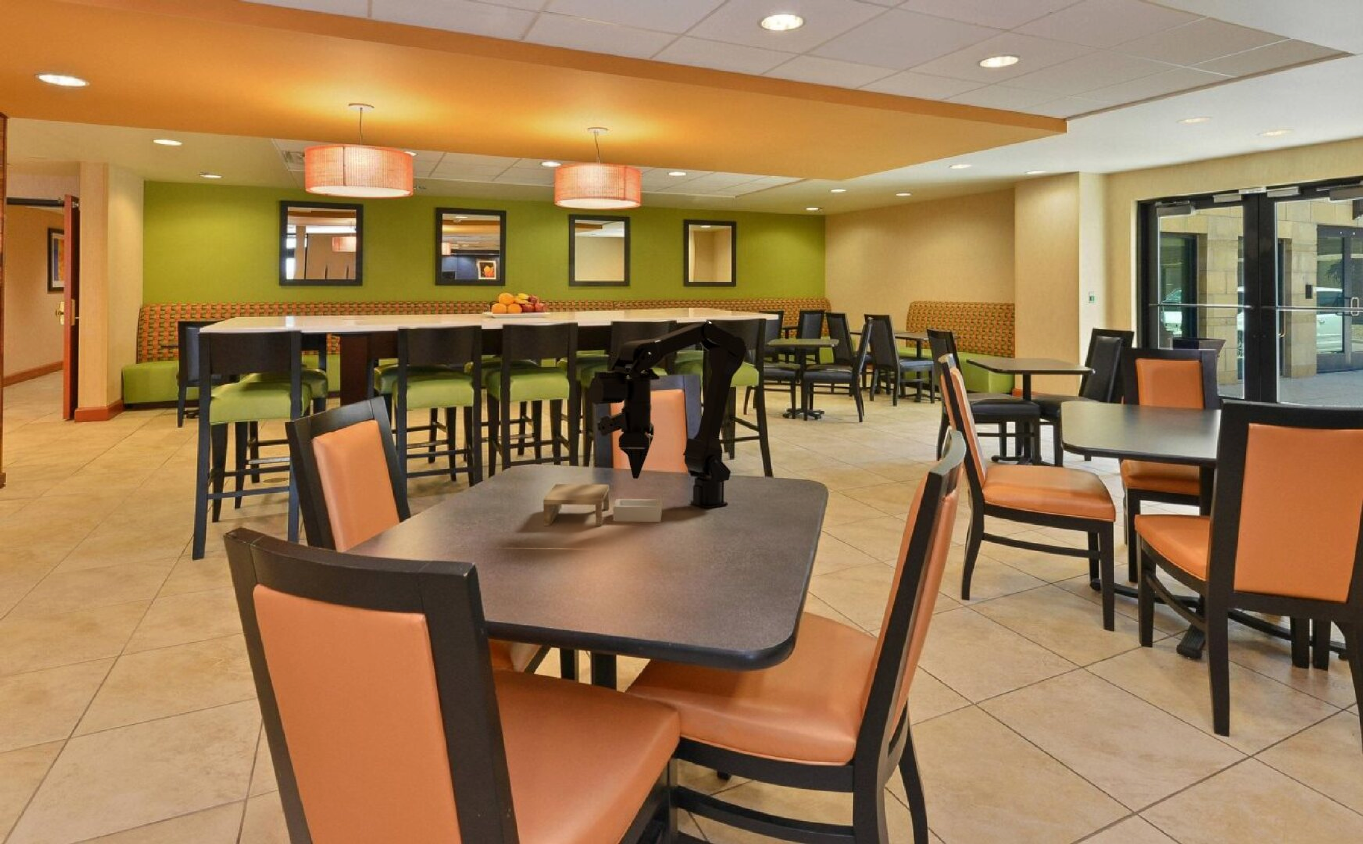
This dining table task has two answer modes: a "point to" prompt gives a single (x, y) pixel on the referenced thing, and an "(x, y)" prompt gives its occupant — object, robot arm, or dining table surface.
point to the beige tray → (637, 510)
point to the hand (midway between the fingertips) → (637, 473)
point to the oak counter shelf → (575, 499)
